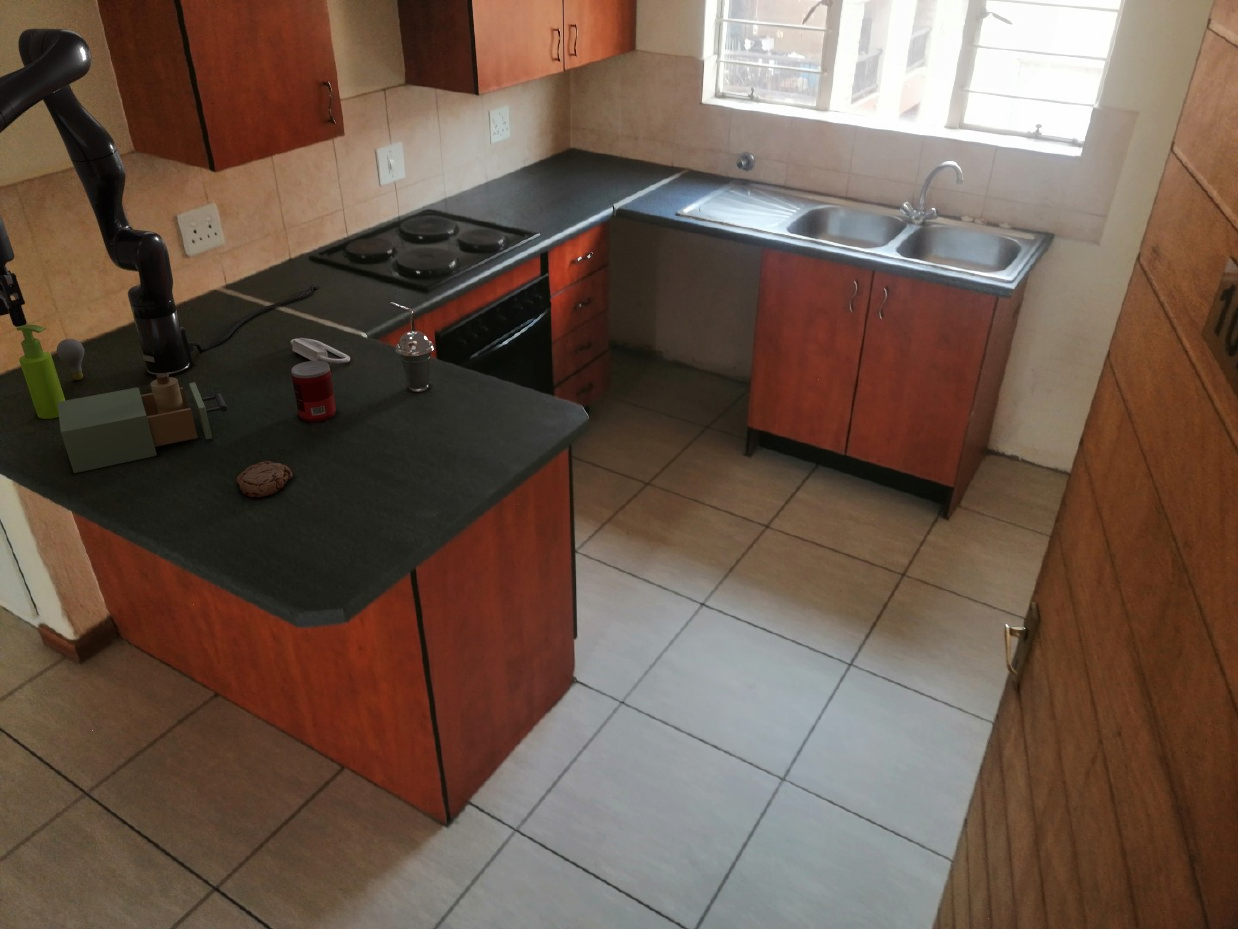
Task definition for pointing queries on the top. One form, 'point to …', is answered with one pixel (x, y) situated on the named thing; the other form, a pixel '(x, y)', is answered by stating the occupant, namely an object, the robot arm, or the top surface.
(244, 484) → the cookie
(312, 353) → the white long looped piece
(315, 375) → the canned food
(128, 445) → the cabinet
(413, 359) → the cup with straw
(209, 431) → the drawer
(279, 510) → the top surface
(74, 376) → the light bulb
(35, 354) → the soap dispenser
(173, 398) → the roller
